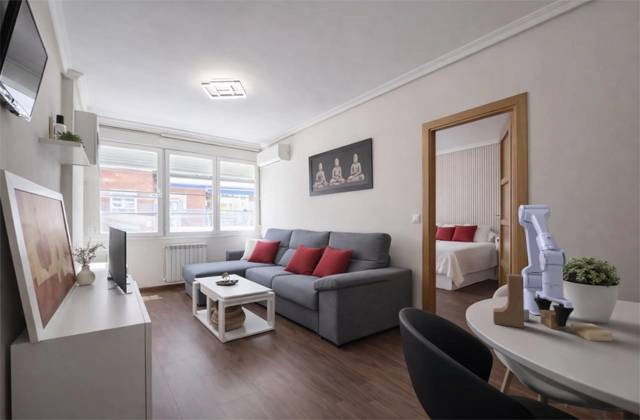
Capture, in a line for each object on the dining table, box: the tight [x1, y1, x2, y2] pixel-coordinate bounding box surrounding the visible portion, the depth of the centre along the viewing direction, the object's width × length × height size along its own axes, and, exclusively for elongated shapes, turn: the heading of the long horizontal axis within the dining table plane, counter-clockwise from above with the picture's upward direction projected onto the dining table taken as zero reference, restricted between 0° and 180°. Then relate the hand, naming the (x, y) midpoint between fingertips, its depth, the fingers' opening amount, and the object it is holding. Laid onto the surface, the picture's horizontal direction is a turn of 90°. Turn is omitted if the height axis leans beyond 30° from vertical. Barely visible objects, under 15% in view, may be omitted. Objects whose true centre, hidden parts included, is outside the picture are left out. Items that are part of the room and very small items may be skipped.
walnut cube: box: [540, 309, 567, 330], centre depth 103 cm, size 5×5×5 cm
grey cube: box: [524, 308, 530, 322], centre depth 110 cm, size 4×4×4 cm
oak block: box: [570, 323, 613, 342], centre depth 94 cm, size 7×7×3 cm
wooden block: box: [492, 273, 525, 329], centre depth 104 cm, size 9×4×18 cm, turn 61°
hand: (553, 322), depth 103 cm, fingers open, 7 cm apart
